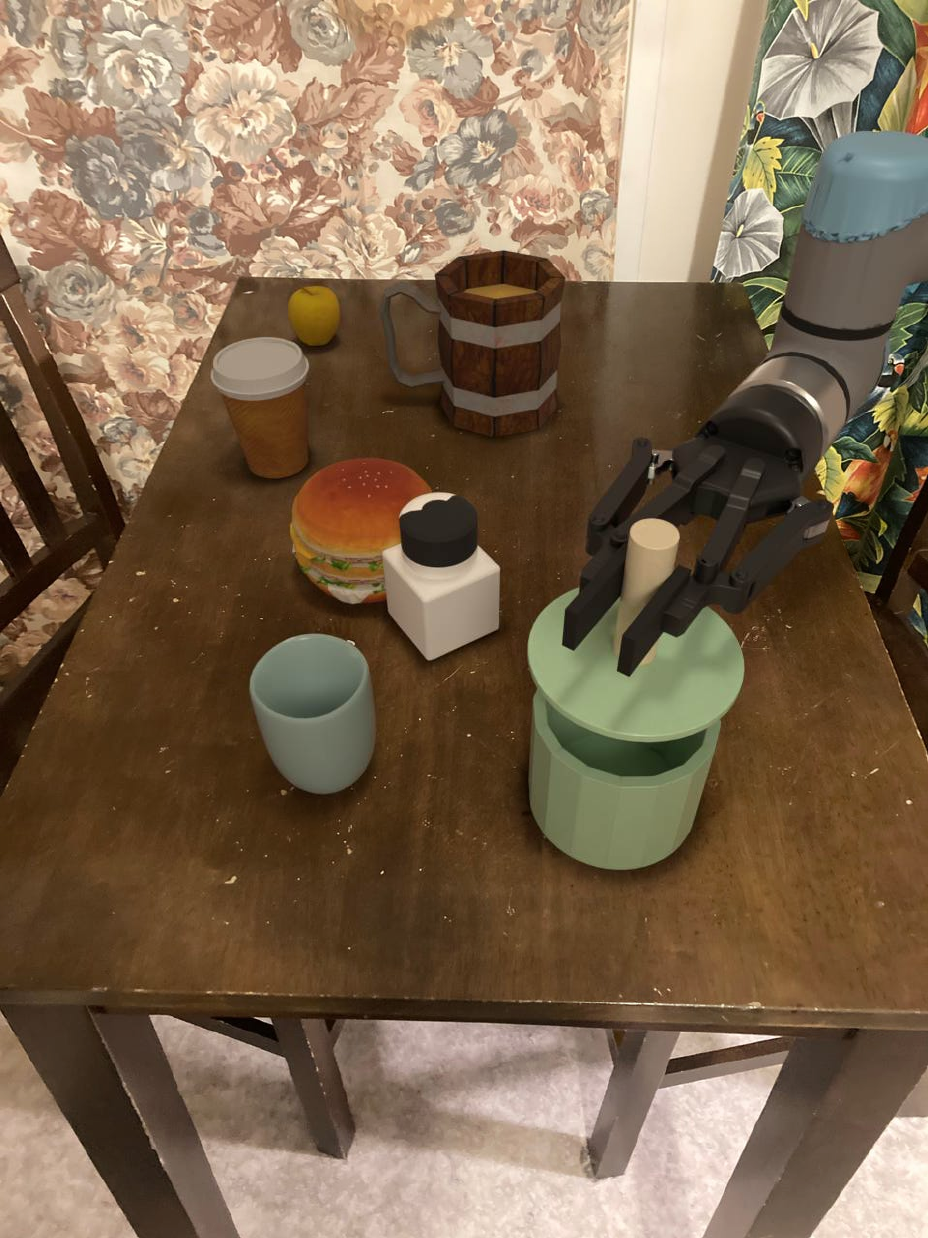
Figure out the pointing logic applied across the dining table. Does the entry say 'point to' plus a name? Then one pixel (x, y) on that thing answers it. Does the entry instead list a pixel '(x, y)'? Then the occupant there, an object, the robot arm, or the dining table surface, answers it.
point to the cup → (315, 711)
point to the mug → (490, 340)
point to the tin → (614, 790)
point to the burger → (351, 525)
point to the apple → (314, 314)
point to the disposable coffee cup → (266, 402)
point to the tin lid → (667, 676)
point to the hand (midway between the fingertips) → (597, 642)
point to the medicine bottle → (441, 576)
